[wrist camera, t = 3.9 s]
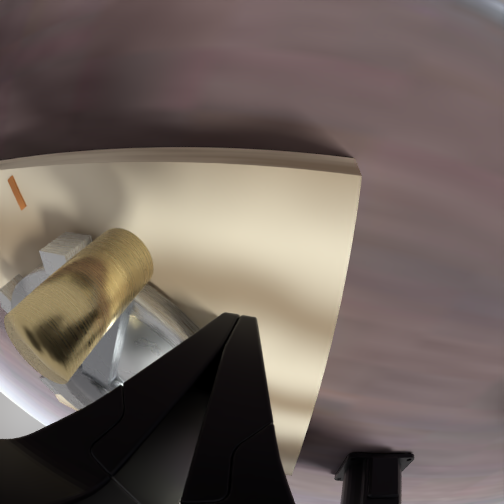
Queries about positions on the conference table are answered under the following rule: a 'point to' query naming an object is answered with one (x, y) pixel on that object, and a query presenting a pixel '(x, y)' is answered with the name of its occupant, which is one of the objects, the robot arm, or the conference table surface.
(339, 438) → the conference table surface
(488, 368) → the conference table surface
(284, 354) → the base plate
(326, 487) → the conference table surface
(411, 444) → the conference table surface
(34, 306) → the silver lever dial
